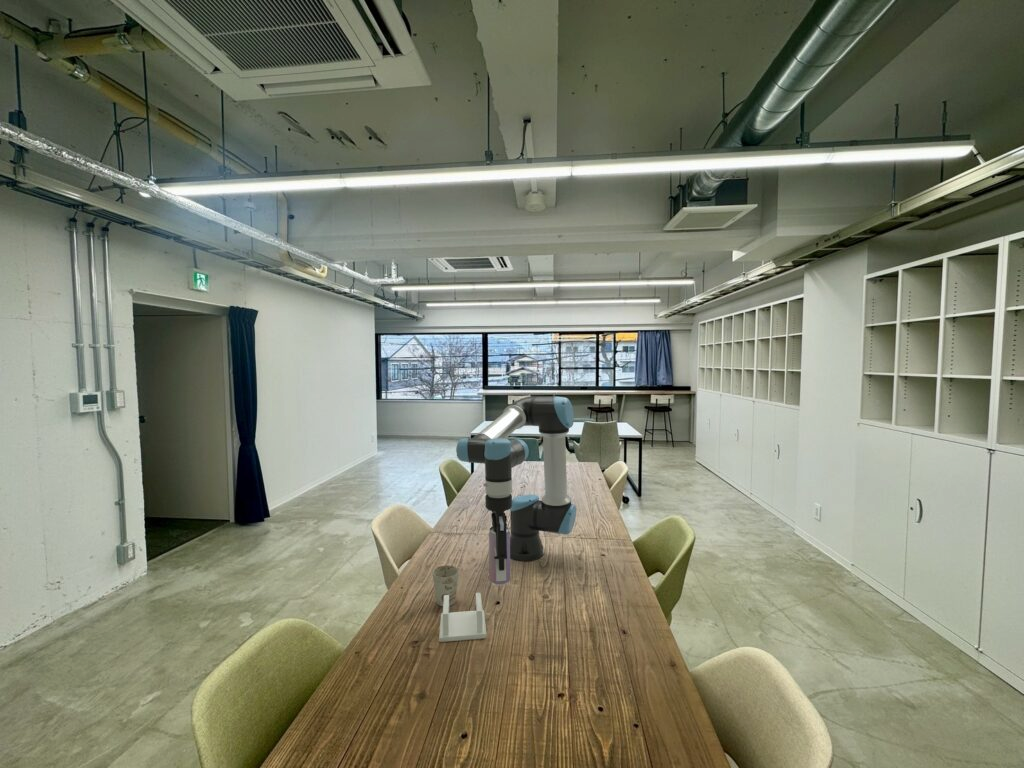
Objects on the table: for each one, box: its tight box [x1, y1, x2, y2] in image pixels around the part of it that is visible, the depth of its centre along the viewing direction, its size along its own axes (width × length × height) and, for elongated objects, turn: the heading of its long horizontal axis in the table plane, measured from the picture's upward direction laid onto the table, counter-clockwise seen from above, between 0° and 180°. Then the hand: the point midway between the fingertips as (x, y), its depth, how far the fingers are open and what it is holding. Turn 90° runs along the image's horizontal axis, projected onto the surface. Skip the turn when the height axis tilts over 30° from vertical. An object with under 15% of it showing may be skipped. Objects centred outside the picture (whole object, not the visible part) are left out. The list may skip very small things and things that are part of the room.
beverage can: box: [488, 526, 511, 587], centre depth 120 cm, size 6×6×15 cm
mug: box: [432, 565, 459, 607], centre depth 139 cm, size 8×13×10 cm, turn 15°
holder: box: [438, 592, 487, 643], centre depth 123 cm, size 12×13×7 cm
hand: (499, 574), depth 121 cm, fingers closed on beverage can, 6 cm apart
